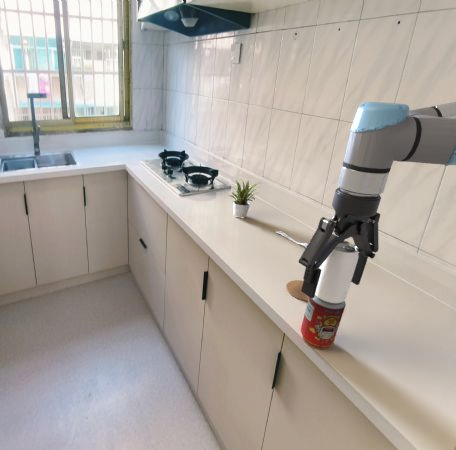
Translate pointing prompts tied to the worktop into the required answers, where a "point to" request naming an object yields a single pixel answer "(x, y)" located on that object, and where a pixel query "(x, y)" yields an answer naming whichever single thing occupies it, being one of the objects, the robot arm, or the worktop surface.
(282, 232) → the fork
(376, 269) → the worktop surface
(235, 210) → the house plant
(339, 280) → the can
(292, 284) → the cork coaster
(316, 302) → the soda can
